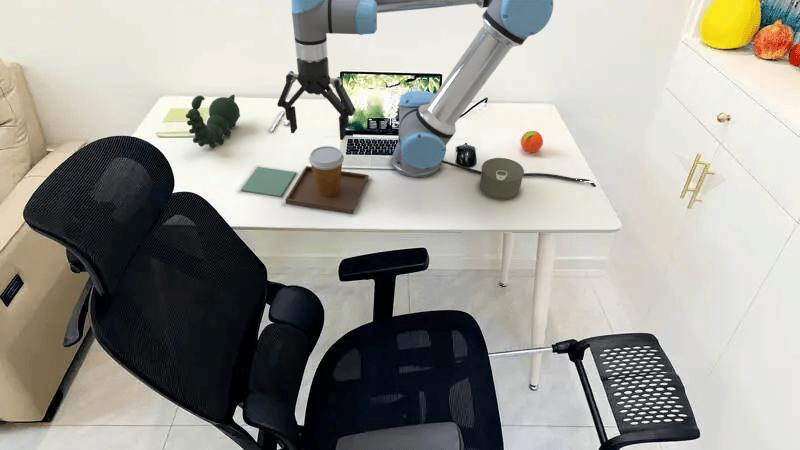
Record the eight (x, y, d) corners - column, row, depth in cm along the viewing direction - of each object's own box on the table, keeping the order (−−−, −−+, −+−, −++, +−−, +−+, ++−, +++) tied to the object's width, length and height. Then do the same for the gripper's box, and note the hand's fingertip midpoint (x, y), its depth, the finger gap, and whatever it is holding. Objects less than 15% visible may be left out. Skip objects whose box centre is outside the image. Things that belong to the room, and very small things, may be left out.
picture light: (282, 112, 189) (281, 106, 188) (294, 113, 189) (294, 108, 188) (270, 132, 179) (269, 126, 177) (282, 133, 178) (282, 127, 177)
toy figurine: (217, 161, 167) (251, 117, 184) (202, 109, 154) (240, 67, 171) (190, 157, 169) (226, 114, 186) (172, 104, 155) (213, 63, 173)
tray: (368, 178, 160) (368, 174, 159) (352, 214, 147) (352, 209, 146) (306, 170, 162) (306, 165, 161) (285, 203, 149) (285, 199, 148)
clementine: (527, 160, 170) (532, 140, 165) (512, 150, 174) (515, 131, 170) (545, 152, 174) (549, 133, 169) (529, 143, 178) (533, 124, 173)
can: (522, 181, 161) (526, 161, 156) (517, 204, 152) (521, 184, 148) (482, 173, 163) (485, 154, 159) (475, 196, 154) (478, 176, 150)
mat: (296, 173, 161) (295, 172, 160) (281, 197, 151) (280, 195, 151) (258, 168, 162) (257, 166, 162) (241, 191, 153) (240, 189, 153)
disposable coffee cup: (309, 183, 156) (305, 147, 149) (341, 178, 159) (339, 143, 151) (315, 202, 149) (311, 166, 142) (348, 197, 152) (347, 161, 144)
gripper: (366, 56, 131) (367, 133, 144) (269, 45, 135) (279, 121, 148) (357, 68, 125) (359, 147, 139) (257, 57, 129) (268, 134, 142)
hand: (318, 134), depth 143 cm, fingers open, 13 cm apart
